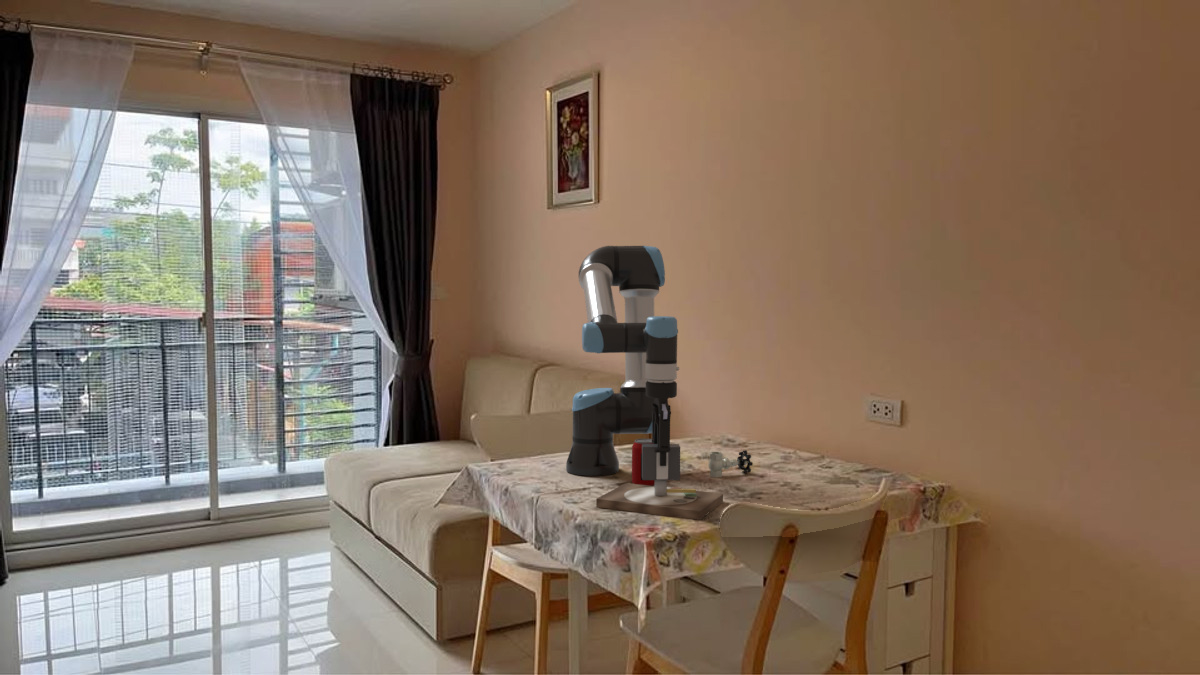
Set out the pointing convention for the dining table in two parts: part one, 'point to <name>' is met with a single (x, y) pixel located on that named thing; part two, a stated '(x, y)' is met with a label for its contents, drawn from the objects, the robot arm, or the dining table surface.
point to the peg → (673, 469)
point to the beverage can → (639, 462)
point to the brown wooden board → (660, 501)
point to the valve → (728, 463)
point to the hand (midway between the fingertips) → (660, 476)
